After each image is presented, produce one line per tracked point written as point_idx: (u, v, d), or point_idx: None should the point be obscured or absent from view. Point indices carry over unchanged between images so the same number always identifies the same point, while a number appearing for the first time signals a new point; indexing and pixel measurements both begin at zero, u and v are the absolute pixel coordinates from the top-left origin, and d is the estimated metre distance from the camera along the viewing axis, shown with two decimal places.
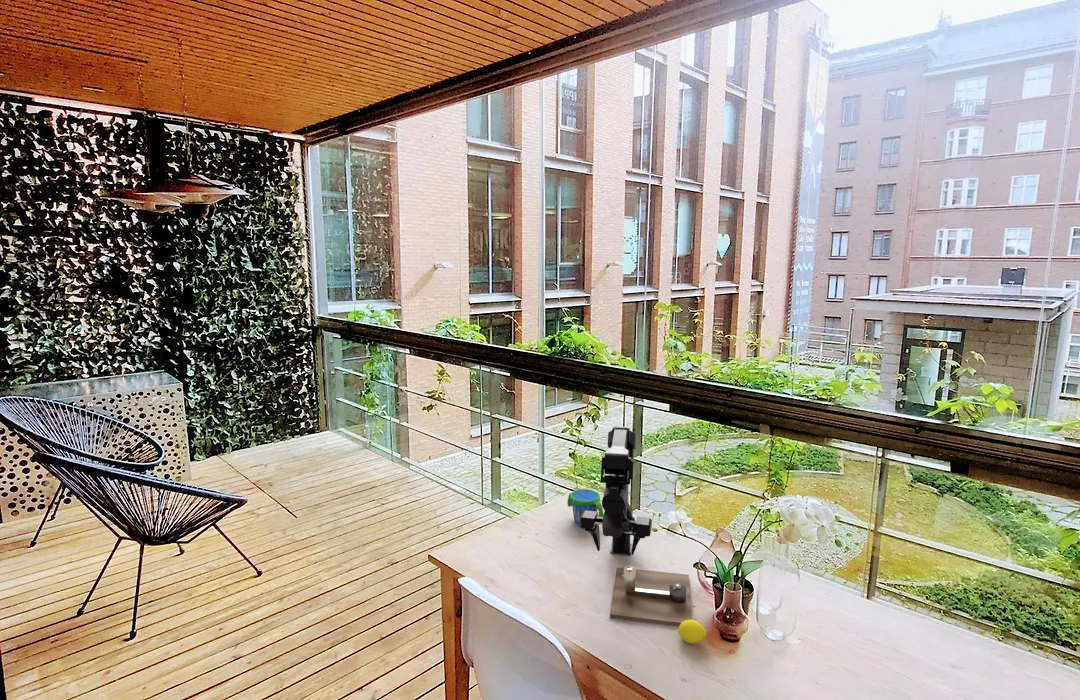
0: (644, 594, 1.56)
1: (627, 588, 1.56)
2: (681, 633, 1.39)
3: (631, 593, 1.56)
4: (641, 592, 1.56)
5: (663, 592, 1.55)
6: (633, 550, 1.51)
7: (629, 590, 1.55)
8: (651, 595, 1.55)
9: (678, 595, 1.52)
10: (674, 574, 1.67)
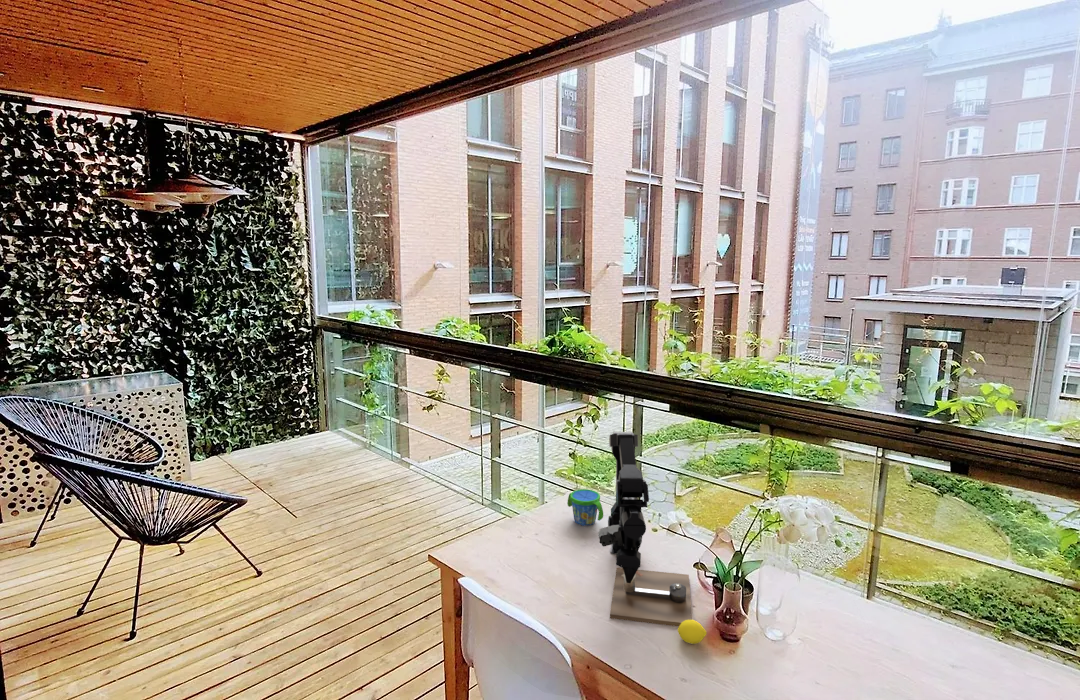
0: (644, 594, 1.56)
1: (627, 588, 1.56)
2: (681, 633, 1.39)
3: (631, 593, 1.56)
4: (641, 592, 1.56)
5: (663, 592, 1.55)
6: (625, 577, 1.52)
7: (629, 590, 1.55)
8: (651, 595, 1.55)
9: (678, 595, 1.52)
10: (674, 574, 1.67)
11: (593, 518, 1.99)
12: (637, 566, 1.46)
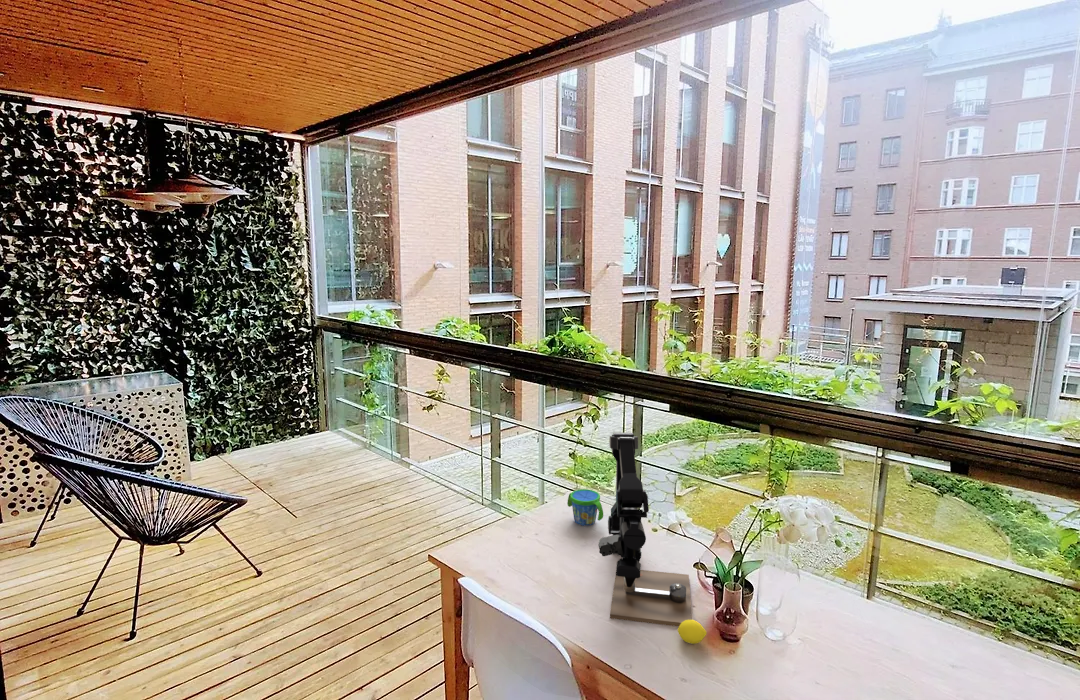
0: (644, 594, 1.56)
1: (627, 588, 1.56)
2: (681, 633, 1.39)
3: (631, 593, 1.56)
4: (641, 592, 1.56)
5: (663, 592, 1.55)
6: (626, 581, 1.55)
7: (629, 590, 1.55)
8: (651, 595, 1.55)
9: (678, 595, 1.52)
10: (674, 574, 1.67)
11: (593, 518, 1.99)
12: (637, 576, 1.46)
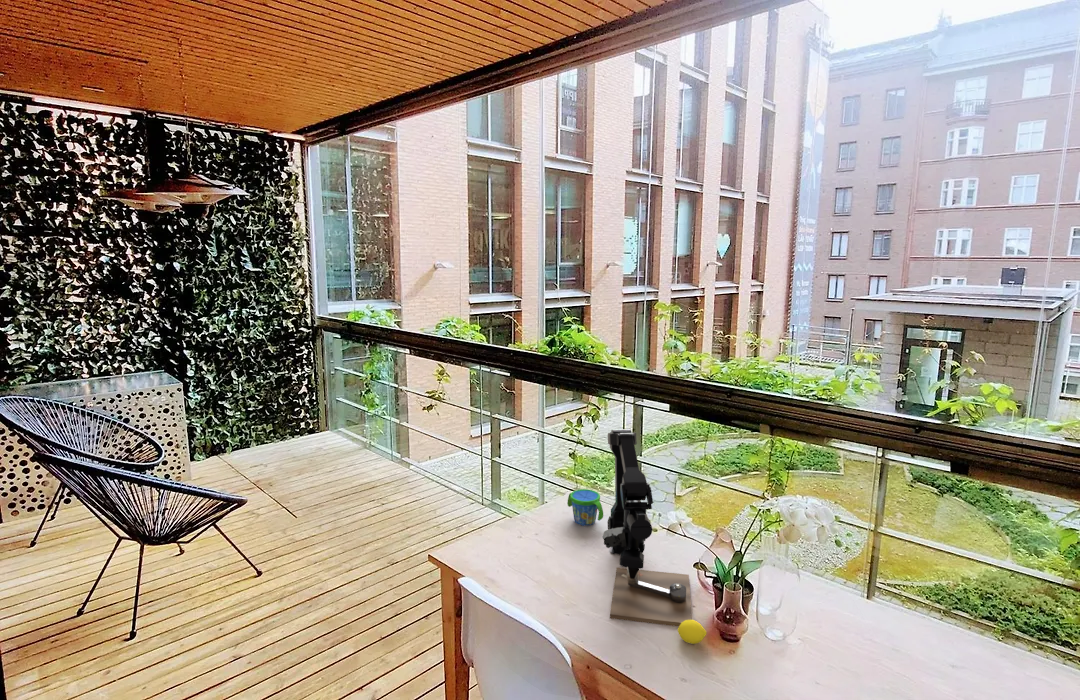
0: (645, 588, 1.58)
1: (629, 579, 1.60)
2: (681, 633, 1.39)
3: (633, 585, 1.60)
4: (642, 586, 1.59)
5: (664, 590, 1.56)
6: (629, 573, 1.59)
7: (630, 582, 1.59)
8: (652, 591, 1.57)
9: (676, 594, 1.52)
10: (674, 574, 1.67)
11: (593, 518, 1.99)
12: (640, 567, 1.50)
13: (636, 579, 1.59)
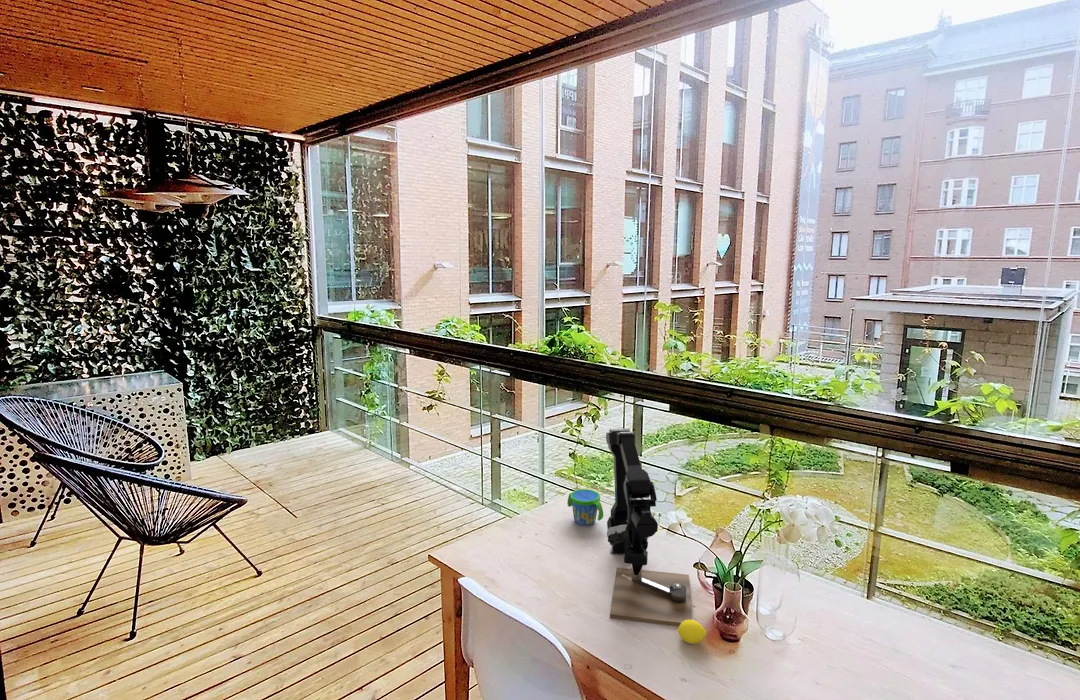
0: (647, 585, 1.60)
1: (632, 575, 1.62)
2: (681, 633, 1.39)
3: (636, 581, 1.62)
4: (645, 583, 1.60)
5: (665, 588, 1.57)
6: (633, 569, 1.60)
7: (633, 578, 1.61)
8: (653, 589, 1.58)
9: (674, 594, 1.52)
10: (674, 574, 1.67)
11: (593, 518, 1.99)
12: (644, 564, 1.52)
13: (639, 576, 1.61)
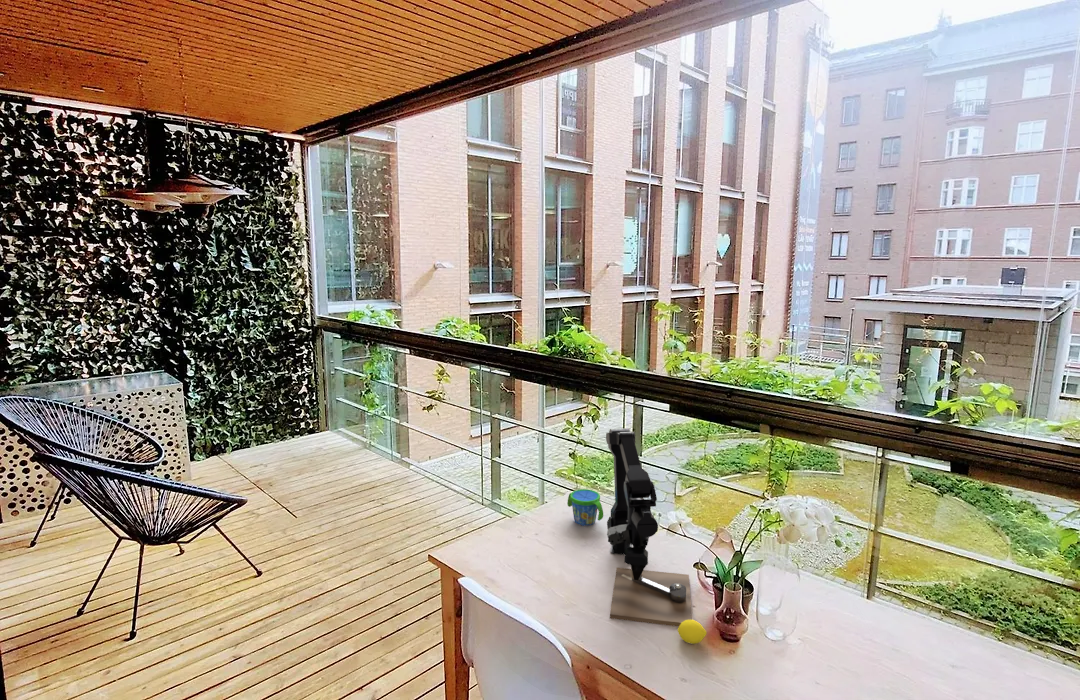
0: (647, 585, 1.60)
1: (632, 575, 1.62)
2: (681, 633, 1.39)
3: (636, 581, 1.62)
4: (645, 583, 1.60)
5: (665, 588, 1.57)
6: (633, 574, 1.58)
7: (633, 577, 1.62)
8: (653, 588, 1.58)
9: (674, 594, 1.52)
10: (674, 574, 1.67)
11: (593, 518, 1.99)
12: (644, 564, 1.52)
13: None
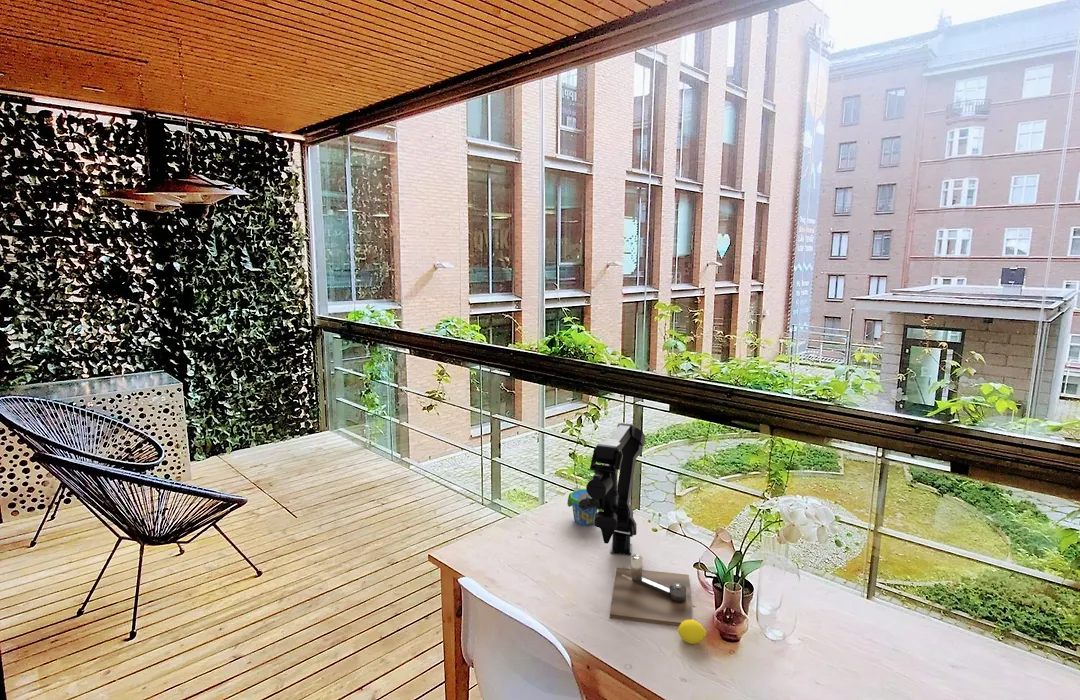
0: (647, 585, 1.60)
1: (632, 575, 1.62)
2: (681, 633, 1.39)
3: (636, 581, 1.62)
4: (645, 583, 1.60)
5: (665, 588, 1.57)
6: (603, 538, 1.63)
7: (633, 577, 1.62)
8: (653, 588, 1.58)
9: (674, 594, 1.52)
10: (674, 574, 1.67)
11: (593, 518, 1.99)
12: (614, 526, 1.58)
13: (639, 575, 1.61)
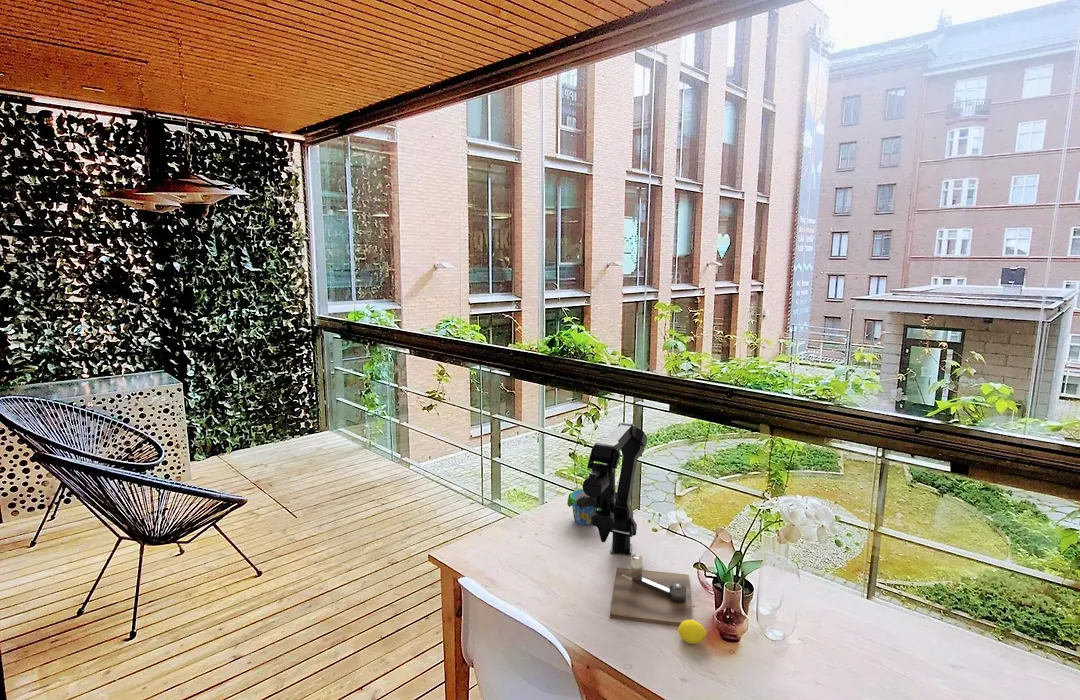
0: (647, 585, 1.60)
1: (632, 575, 1.62)
2: (681, 633, 1.39)
3: (636, 581, 1.62)
4: (645, 583, 1.60)
5: (665, 588, 1.57)
6: (600, 536, 1.64)
7: (633, 577, 1.62)
8: (653, 588, 1.58)
9: (674, 594, 1.52)
10: (674, 574, 1.67)
11: None
12: (610, 525, 1.58)
13: (639, 575, 1.61)
